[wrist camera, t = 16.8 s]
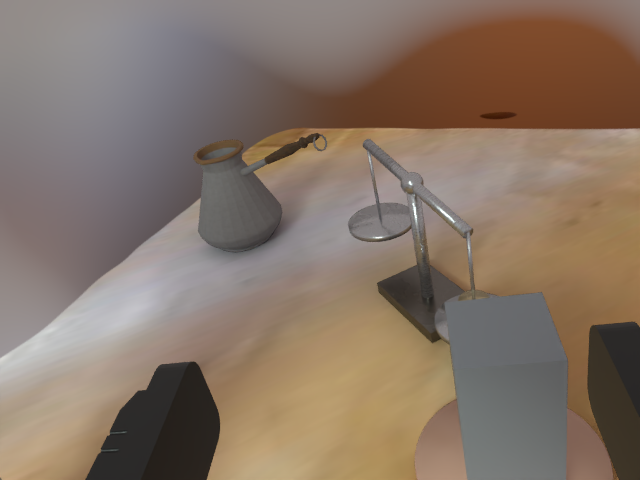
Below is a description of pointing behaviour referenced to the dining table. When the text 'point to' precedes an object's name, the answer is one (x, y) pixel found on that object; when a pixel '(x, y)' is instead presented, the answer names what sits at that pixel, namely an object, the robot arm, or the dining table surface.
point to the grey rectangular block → (509, 387)
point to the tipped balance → (421, 280)
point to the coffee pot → (238, 195)
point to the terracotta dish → (448, 458)
